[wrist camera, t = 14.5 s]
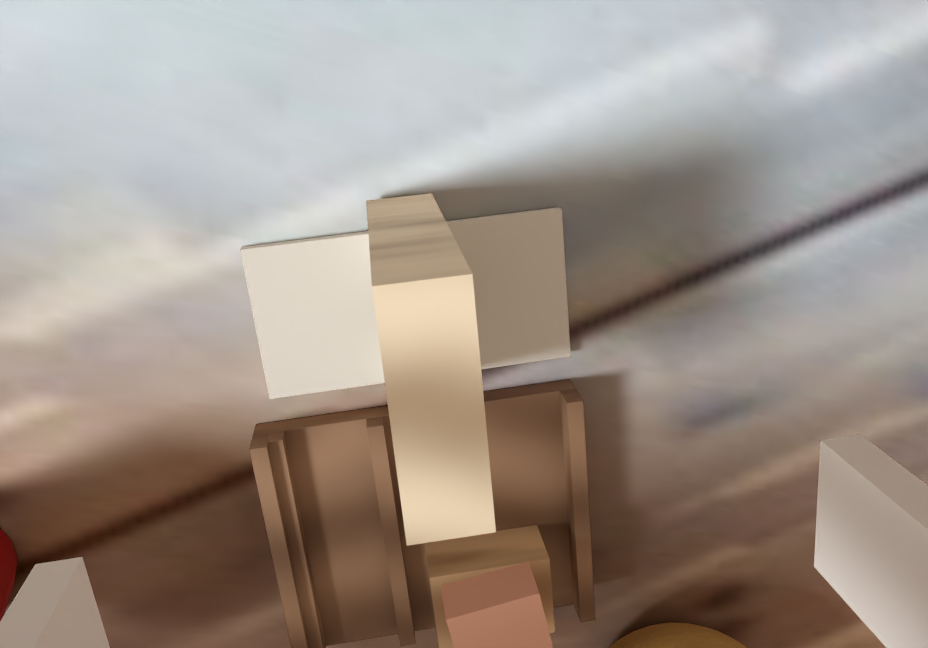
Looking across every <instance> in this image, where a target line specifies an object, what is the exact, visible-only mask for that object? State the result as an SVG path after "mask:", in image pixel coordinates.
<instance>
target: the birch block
mask: <svg viewBox="0 0 928 648" xmlns="http://www.w3.org/2000/svg"><path fill="white" fill-rule="evenodd" d="M366 202H367V218H368V234H369V250H370V266H371V282H372V292H373V299H374V307H375V314H376V322H377V329H378V336H379V344H380V351H381V359H382V366H383V373H384V381H385V388H386V396H387V403H388V411H389V418H390V425H391V433H392V440H393V448H394V455H395V462H396V470H397V477H398V485H399V492H400V500H401V507H402V514H403V522H404V529H405V537H406V544H407V546H408V545H415V544H422V543H428V542H435V541H441V540H448V539H455V538H461V537H468V536H475V535H481V534H488V533H494V532H496V527H495V516H494V505H493V494H492V483H491V472H490V461H489V450H488V439H487V428H486V417H485V406H484V395H483V384H482V373H481V362H480V351H479V340H478V329H477V318H476V307H475V296H474V285H473V274H472V272H471V270H470V268H469V266H468V264H467V262H466V260H465V258H464V256H463V254H462V252H461V250H460V248H459V246H458V244H457V242H456V240H455V238H454V236H453V234H452V232H451V230H450V228H449V226H448V224H447V222H446V221H445V219H444V217H443V215H442V213H441V211H440V209H439V207H438V205H437V203H436V201H435V199H434V197H433V195H432V193H430V194H421V195H412V196H403V197H394V198H386V199H377V200H368V201H366Z"/></svg>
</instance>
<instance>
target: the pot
mask: <svg viewBox="0 0 928 648" xmlns="http://www.w3.org/2000/svg"><path fill="white" fill-rule="evenodd" d="M609 648H747V647H746V646H745V645H743V644H742V643H740V642H739V641H737V640H735V639H733V638H731V637H729V636H727V635H725V634H723V633H721V632H719V631H717V630H714V629H711V628H708V627H703V626H699V625H695V624H691V623H663V624H656V625H650V626H647V627H644V628H642V629H639V630H636V631H633V632H631V633H629V634H628V635H626V636H624V637H623V638H621V639H619V640H617V641H616V642H615V643H614V644H612V645H611V646H610V647H609Z"/></svg>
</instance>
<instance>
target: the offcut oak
mask: <svg viewBox="0 0 928 648" xmlns="http://www.w3.org/2000/svg"><path fill="white" fill-rule="evenodd" d="M425 549H426V557H427V564H428V571H429V579H430V586H431V593H432V601H433V608H434V615H435V623H436V630H437V637H438V645H439V648H454V644H453V641H452V638H451V635H450V632H449V628H448V625H447V622H446V617H445V611H444V604H443V598H442V591H441V586H444V585H447V584H451V583H454V582H458V581H461V580H465V579H468V578H472V577H475V576H479V575H482V574H486V573H489V572H493V571H496V570H500V569H503V568H507V567H510V566H514V565H517V564H521V563H524V562H528V561H529V564H530V567H531V570H532V573H533V576H534V579H535V582H536V585H537V588H538V591H539V594H540V598H541V602H542V606H543V610H544V613H545V617H546V621H547V625H548V629H549V633H553V632H555V624H554V611H553V598H552V585H551V571H550V559H549V556H548V553H547V551H546V548H545V545H544V543H543V540H542V537H541V535H540V532H539V529H538V527H537V525H534V526H527V527H521V528H515V529H508V530H502V531H496V532H494V533H488V534H481V535H475V536H468V537H461V538H455V539H448V540H441V541H435V542H428V543H425Z"/></svg>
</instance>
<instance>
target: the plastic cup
mask: <svg viewBox="0 0 928 648" xmlns="http://www.w3.org/2000/svg"><path fill="white" fill-rule="evenodd" d="M17 560H18V558H17V556H16V553H15V550H14V547H13V544H12V541H11V539H10V538H9V537H8V536H7V535H6V534H5V533H4V532H3V531H2V530H1V529H0V621H1V619H2V618H3V616H4V612H5V609H6V607H7V604H8V601H9V598H10V596H11V593H12V590H13V587H14V582H15V575H16V569H17Z"/></svg>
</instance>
